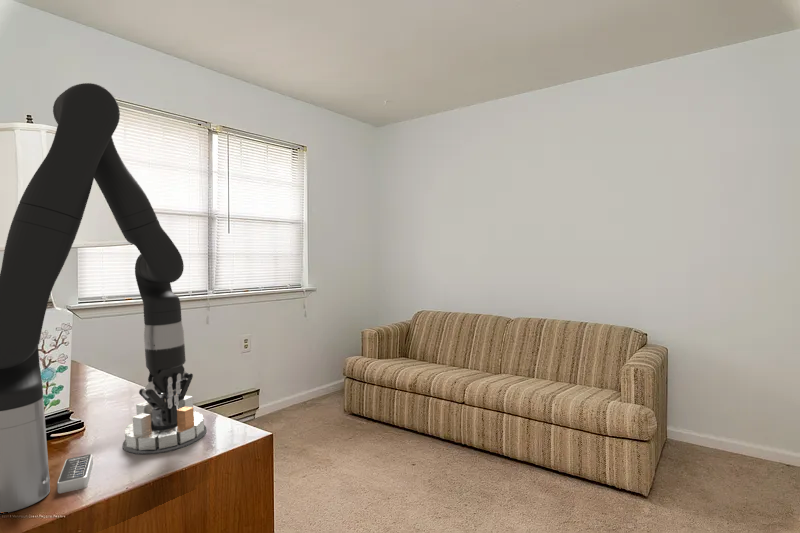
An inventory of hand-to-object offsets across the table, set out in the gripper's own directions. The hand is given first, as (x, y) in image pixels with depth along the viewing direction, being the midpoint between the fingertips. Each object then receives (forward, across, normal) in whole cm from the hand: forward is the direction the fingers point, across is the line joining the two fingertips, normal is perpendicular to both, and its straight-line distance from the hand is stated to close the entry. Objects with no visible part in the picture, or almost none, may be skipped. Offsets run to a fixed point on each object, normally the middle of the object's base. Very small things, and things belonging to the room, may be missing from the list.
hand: (170, 423), depth 101 cm
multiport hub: (+6, -15, +9) cm, 18 cm away
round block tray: (+6, +5, +6) cm, 9 cm away
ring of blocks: (+6, +5, +6) cm, 9 cm away
